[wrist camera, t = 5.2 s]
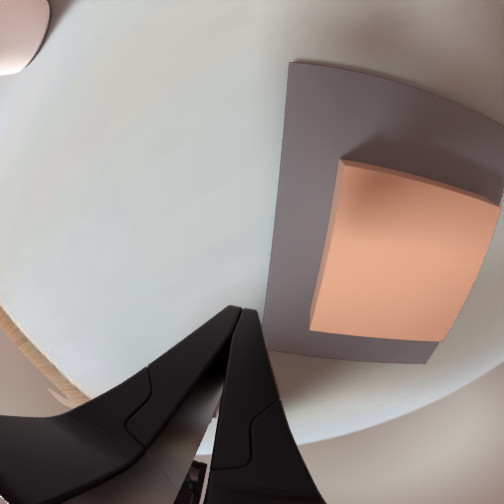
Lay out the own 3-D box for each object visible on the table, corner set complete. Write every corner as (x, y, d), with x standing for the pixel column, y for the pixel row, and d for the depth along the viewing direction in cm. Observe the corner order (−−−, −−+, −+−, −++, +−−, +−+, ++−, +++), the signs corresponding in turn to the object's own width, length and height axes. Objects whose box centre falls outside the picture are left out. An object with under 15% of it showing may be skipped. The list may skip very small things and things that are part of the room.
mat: (424, 359, 16) (425, 363, 15) (260, 344, 17) (259, 348, 17) (508, 131, 8) (512, 131, 8) (289, 64, 10) (289, 62, 9)
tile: (310, 307, 15) (433, 320, 14) (309, 330, 13) (442, 341, 12) (339, 158, 11) (482, 195, 10) (344, 165, 9) (501, 207, 8)
